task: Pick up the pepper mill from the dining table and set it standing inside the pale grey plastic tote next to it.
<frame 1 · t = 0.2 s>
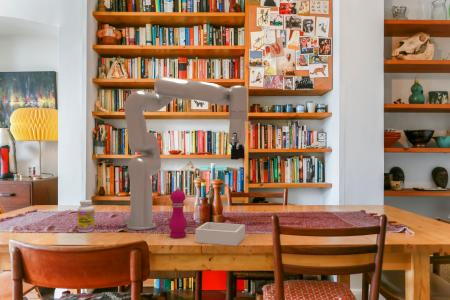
hand: (237, 158, 147), 31 cm above the table, tool pointing down, fingers open, 9 cm apart
supplement bottle: (86, 231, 154), on the table
pepper mill: (177, 236, 145), on the table
tote: (220, 239, 140), on the table
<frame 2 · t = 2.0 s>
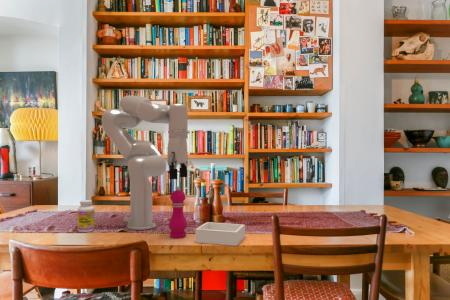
hand: (178, 178, 144), 23 cm above the table, tool pointing down, fingers open, 9 cm apart
nothing on the table moved.
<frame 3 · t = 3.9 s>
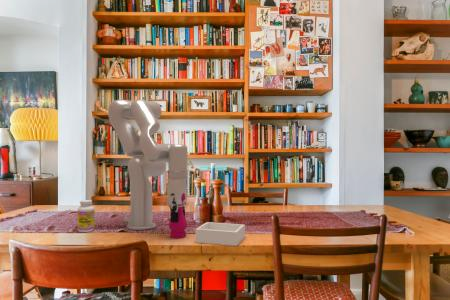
hand: (177, 220, 145), 7 cm above the table, tool pointing down, fingers closed on pepper mill, 5 cm apart
pepper mill: (177, 236, 145), on the table, touching gripper
everything else where it was.
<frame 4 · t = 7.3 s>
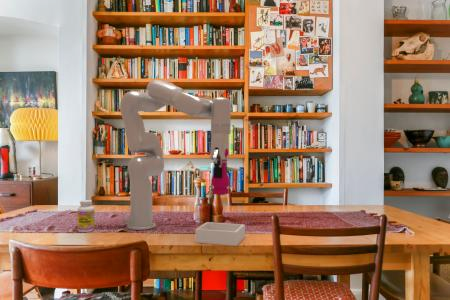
hand: (220, 176, 139), 24 cm above the table, tool pointing down, fingers closed on pepper mill, 5 cm apart
pepper mill: (220, 194, 139), point 18 cm above the table, touching gripper
everything else where it was.
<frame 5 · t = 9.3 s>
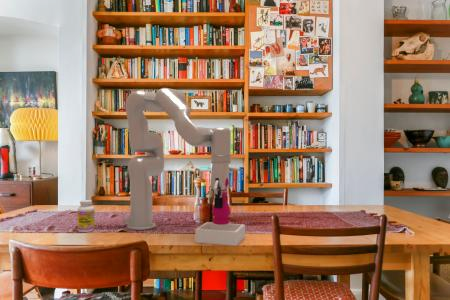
hand: (221, 206, 139), 13 cm above the table, tool pointing down, fingers closed on pepper mill, 5 cm apart
pepper mill: (221, 223, 139), point 6 cm above the table, touching gripper
everything else where it was.
when the fingers open (9 cm above the table, at t = 10.6 s): pepper mill drops 1 cm, resting on tote.
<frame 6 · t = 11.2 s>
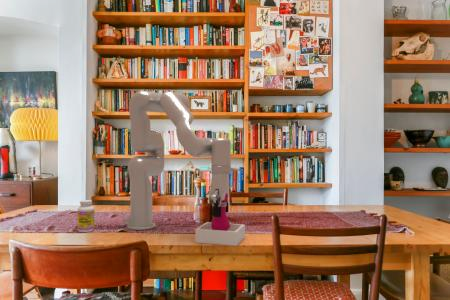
hand: (220, 214, 139), 10 cm above the table, tool pointing down, fingers open, 9 cm apart
pepper mill: (220, 237, 140), point 1 cm above the table, touching tote
everything else where it was.
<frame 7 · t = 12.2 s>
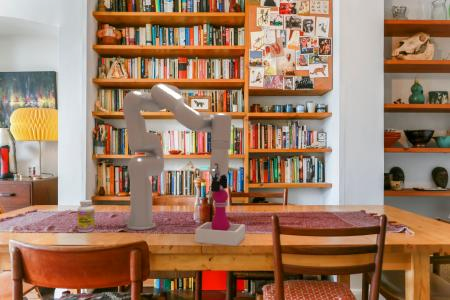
hand: (219, 189, 140), 19 cm above the table, tool pointing down, fingers open, 9 cm apart
nothing on the table moved.
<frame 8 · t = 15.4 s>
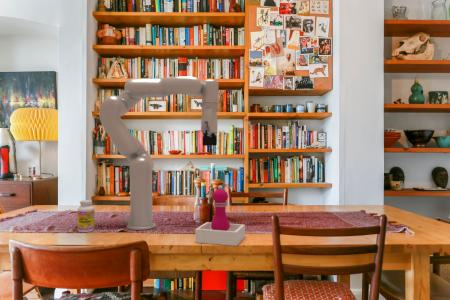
hand: (210, 145, 164), 36 cm above the table, tool pointing down, fingers open, 9 cm apart
nothing on the table moved.
at the end: pepper mill inside the target area on the tote (0.2 cm from its centre), point 0.8 cm above the tote's base; pepper mill tilted 0°; the gripper is holding nothing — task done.
